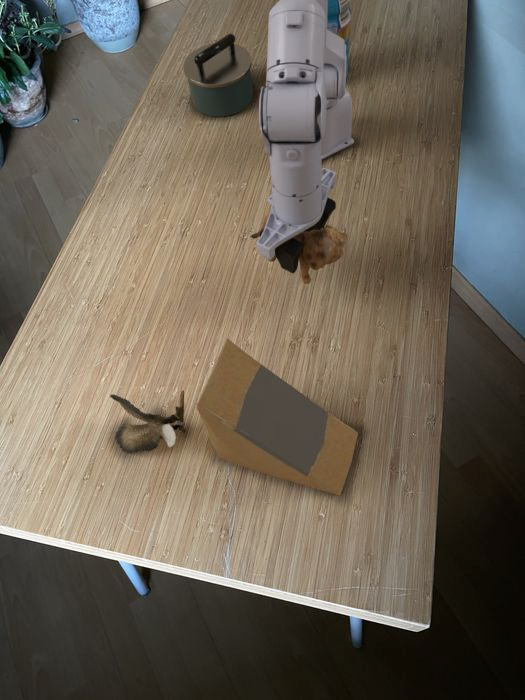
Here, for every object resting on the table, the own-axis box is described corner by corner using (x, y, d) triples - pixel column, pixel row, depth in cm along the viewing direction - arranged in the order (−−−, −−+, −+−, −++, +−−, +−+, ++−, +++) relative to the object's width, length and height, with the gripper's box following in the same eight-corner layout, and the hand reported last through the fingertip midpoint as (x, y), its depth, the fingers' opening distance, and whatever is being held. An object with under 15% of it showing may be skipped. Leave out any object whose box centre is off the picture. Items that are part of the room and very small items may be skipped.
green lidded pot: (268, 92, 105) (263, 40, 97) (221, 127, 101) (212, 75, 93) (223, 68, 110) (215, 16, 101) (177, 100, 106) (165, 49, 98)
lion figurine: (349, 272, 79) (356, 223, 72) (328, 298, 77) (333, 250, 70) (261, 228, 84) (258, 178, 77) (238, 251, 82) (233, 202, 75)
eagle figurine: (184, 387, 75) (111, 389, 74) (184, 392, 68) (104, 395, 67) (185, 446, 75) (113, 450, 74) (186, 458, 68) (106, 462, 67)
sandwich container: (341, 498, 67) (345, 451, 54) (217, 459, 71) (194, 406, 58) (360, 431, 71) (368, 372, 58) (242, 398, 75) (225, 335, 62)
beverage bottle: (308, 93, 104) (306, -26, 87) (296, 65, 108) (291, -54, 91) (354, 82, 104) (361, -39, 87) (340, 55, 109) (344, -65, 92)
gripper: (303, 130, 72) (305, 209, 83) (230, 205, 66) (244, 279, 78) (353, 150, 69) (348, 229, 81) (281, 231, 64) (287, 303, 75)
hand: (300, 255), depth 79 cm, fingers closed on lion figurine, 5 cm apart
